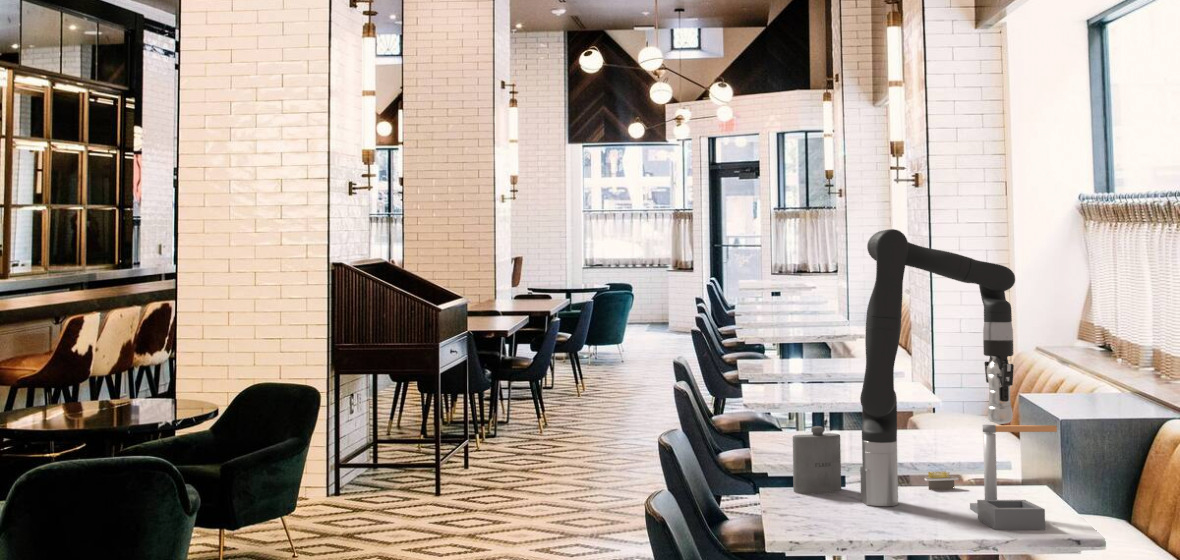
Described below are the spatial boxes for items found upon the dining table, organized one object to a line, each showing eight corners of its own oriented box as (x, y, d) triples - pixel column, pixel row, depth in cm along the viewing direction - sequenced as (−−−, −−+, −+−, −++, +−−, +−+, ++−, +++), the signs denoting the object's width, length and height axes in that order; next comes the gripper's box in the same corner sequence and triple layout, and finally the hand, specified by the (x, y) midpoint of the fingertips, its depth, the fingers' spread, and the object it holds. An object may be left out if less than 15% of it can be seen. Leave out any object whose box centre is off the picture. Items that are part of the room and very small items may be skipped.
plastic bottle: (1011, 422, 253) (1010, 350, 253) (1014, 425, 246) (1012, 351, 247) (986, 421, 255) (985, 350, 256) (988, 424, 249) (986, 351, 249)
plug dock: (995, 529, 223) (993, 443, 224) (962, 510, 244) (960, 431, 245) (1045, 529, 222) (1043, 443, 223) (1007, 510, 244) (1006, 431, 245)
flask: (800, 499, 260) (799, 429, 261) (790, 495, 266) (789, 426, 267) (846, 496, 265) (845, 426, 266) (835, 492, 270) (834, 424, 271)
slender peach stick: (1052, 431, 242) (1052, 424, 242) (1058, 432, 238) (1057, 425, 238) (980, 431, 242) (980, 424, 243) (985, 432, 239) (985, 426, 239)
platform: (901, 491, 273) (901, 469, 273) (958, 489, 275) (957, 467, 275) (921, 499, 261) (920, 476, 261) (980, 497, 263) (979, 474, 263)
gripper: (1023, 339, 244) (1024, 402, 243) (1001, 337, 258) (1002, 397, 258) (994, 339, 244) (996, 403, 244) (974, 338, 259) (975, 397, 258)
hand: (999, 400), depth 251 cm, fingers closed on plastic bottle, 5 cm apart
